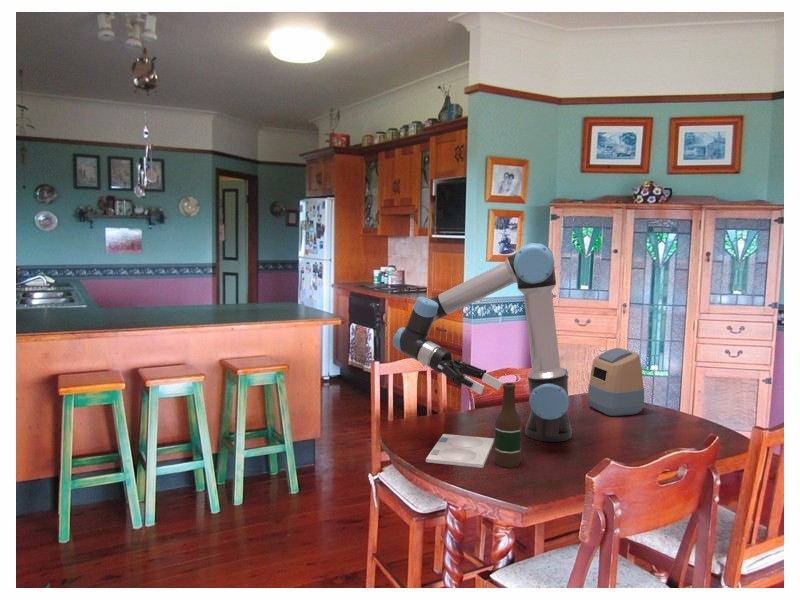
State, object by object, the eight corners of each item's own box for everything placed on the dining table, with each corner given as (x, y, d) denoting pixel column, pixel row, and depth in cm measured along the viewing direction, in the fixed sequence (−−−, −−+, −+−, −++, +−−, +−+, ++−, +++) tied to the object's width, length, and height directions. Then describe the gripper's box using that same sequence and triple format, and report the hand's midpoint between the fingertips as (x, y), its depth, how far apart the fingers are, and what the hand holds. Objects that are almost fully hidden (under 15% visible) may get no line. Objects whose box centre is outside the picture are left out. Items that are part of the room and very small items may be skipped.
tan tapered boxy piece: (583, 406, 250) (585, 347, 247) (621, 403, 254) (623, 345, 252) (608, 418, 234) (610, 356, 231) (648, 415, 238) (650, 353, 236)
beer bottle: (491, 459, 194) (492, 381, 191) (517, 458, 194) (518, 380, 191) (497, 468, 186) (499, 387, 183) (524, 467, 186) (525, 386, 184)
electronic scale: (494, 441, 209) (494, 437, 209) (482, 467, 186) (483, 463, 186) (443, 436, 214) (443, 433, 214) (425, 462, 191) (425, 458, 191)
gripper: (449, 365, 216) (503, 395, 206) (411, 370, 195) (469, 404, 184) (457, 345, 215) (512, 374, 204) (420, 348, 193) (479, 380, 183)
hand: (492, 388), depth 194 cm, fingers open, 13 cm apart
